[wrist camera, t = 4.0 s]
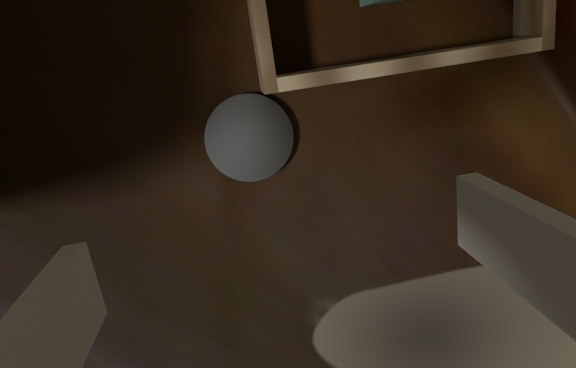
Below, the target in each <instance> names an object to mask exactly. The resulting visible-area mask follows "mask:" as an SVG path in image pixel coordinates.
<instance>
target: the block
mask: <svg viewBox="0 0 576 368" xmlns="http://www.w3.org/2000/svg"><path fill="white" fill-rule="evenodd" d="M401 1H408V0H360V7H366V6H373V5H380V4H387V3H394V2H401Z"/></svg>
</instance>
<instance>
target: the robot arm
mask: <svg viewBox="0 0 576 368" xmlns="http://www.w3.org/2000/svg"><path fill="white" fill-rule="evenodd" d="M457 220H458V245H459V246H460V247H461V248H463V249H464V250H465V251H466V252H467V253H469V254H470V255H471V256H472V257H474V258H475V259H476V260H477V261H478V262H480V263H481V264H482V265H483V266H485V267H486V268H487V269H488V270H490V271H491V272H492V273H493V274H494V275H496V276H497V277H498V278H499V279H500V280H502V281H503V282H504V283H505V284H507V285H508V286H509V287H510V288H511V289H513V290H514V291H515V292H516V293H518V294H519V295H520V296H521V297H523V298H524V299H525V300H526V301H527V302H529V303H530V304H531V305H532V306H533V307H535V308H536V309H537V310H539V311H540V312H541V313H542V314H543V315H544V316H546V317H547V318H548V319H549V320H551V321H552V322H553V323H554V324H555V325H557V326H558V327H559V328H560V329H562V330H563V331H564V332H565V333H566V334H568V335H569V336H570V337H571V338H573V339H574V340H575V341H576V219H575V218H572V217H570V216H568V215H566V214H563V213H561V212H559V211H557V210H555V209H553V208H551V207H549V206H546V205H544V204H542V203H540V202H538V201H536V200H534V199H532V198H529V197H527V196H525V195H523V194H521V193H519V192H517V191H515V190H512V189H510V188H508V187H506V186H504V185H502V184H500V183H498V182H495V181H493V180H491V179H489V178H487V177H485V176H483V175H481V174H479V173H471V174H465V175H460V176H457ZM106 314H107V311H106V307H105V304H104V301H103V297H102V294H101V291H100V287H99V284H98V281H97V278H96V274H95V271H94V268H93V264H92V261H91V258H90V254H89V251H88V248H87V244H86V242H83V243H78V244H72V245H67V246H62V247H61V248H60V250H59V251H58V252H57V253H56V254H55V255H54V257H53V258H52V259H51V260H50V261H49V263H48V264H47V265H46V266H45V267H44V268H43V270H42V271H41V272H40V273H39V274H38V276H37V277H36V278H35V279H34V280H33V282H32V283H31V284H30V285H29V286H28V287H27V289H26V290H25V291H24V292H23V293H22V295H21V296H20V297H19V298H18V299H17V300H16V302H15V303H14V304H13V305H12V306H11V308H10V309H9V310H8V311H7V312H6V313H5V315H4V316H3V317H2V318H1V319H0V368H82V367H83V364H84V362H85V360H86V358H87V356H88V353H89V351H90V349H91V347H92V345H93V342H94V340H95V338H96V336H97V334H98V332H99V329H100V327H101V325H102V323H103V321H104V318H105V316H106Z"/></svg>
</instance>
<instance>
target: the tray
mask: <svg viewBox="0 0 576 368" xmlns="http://www.w3.org/2000/svg"><path fill="white" fill-rule="evenodd" d="M247 6H248V13H249V19H250V25H251V32H252V38H253V44H254V51H255V57H256V64H257V70H258V76H259V83H260V89H261V91H262V92H263V93H264V94H272V93H278V92H284V91H291V90H297V89H303V88H310V87H316V86H322V85H329V84H335V83H341V82H348V81H354V80H360V79H367V78H373V77H379V76H386V75H392V74H398V73H405V72H411V71H417V70H424V69H430V68H436V67H443V66H449V65H455V64H462V63H468V62H474V61H481V60H487V59H493V58H500V57H506V56H512V55H519V54H525V53H531V52H538V51H544V50H550V49H554V43H555V19H556V0H513V38H512V39H506V40H499V41H493V42H486V43H480V44H473V45H467V46H460V47H454V48H447V49H441V50H434V51H428V52H421V53H415V54H408V55H402V56H395V57H389V58H382V59H376V60H369V61H363V62H356V63H350V64H343V65H337V66H330V67H324V68H317V69H311V70H304V71H298V72H291V73H285V74H278V75H276V71H275V64H274V57H273V50H272V43H271V36H270V29H269V22H268V16H267V9H266V2H265V0H247Z"/></svg>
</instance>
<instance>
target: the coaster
mask: <svg viewBox="0 0 576 368" xmlns="http://www.w3.org/2000/svg"><path fill="white" fill-rule="evenodd" d="M293 139H294V136H293V129H292V125H291V122H290V119H289V118H288V116H287V114H286V113H285V111H284V110H283V109H282V108H281V107H280V106H279V105H278V104H277V103H276V102H275V101H273V100H271V99H270V98H268V97H266V96H263V95H260V94H254V93H243V94H238V95H234V96H232V97H229V98H227V99H226V100H224V101H223V102H221V103H220V104H219V105H218V106H217V107H216V108H215V109H214V110H213V112H212V113H211V115H210V117H209V119H208V121H207V124H206V128H205V134H204V141H205V148H206V151H207V154H208V156H209V158H210V160H211V162H212V163H213V164H214V166H215V167H216V168H217V169H218V170H219V171H220V172H222V173H223V174H224V175H226V176H228V177H230V178H232V179H235V180H239V181H245V182H253V181H259V180H263V179H265V178H268V177H270V176H272V175H273V174H275V173H276V172H277V171H279V170H280V169H281V168H282V167H283V165H284V164H285V163H286V161H287V160H288V158H289V156H290V154H291V151H292V147H293Z"/></svg>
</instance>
